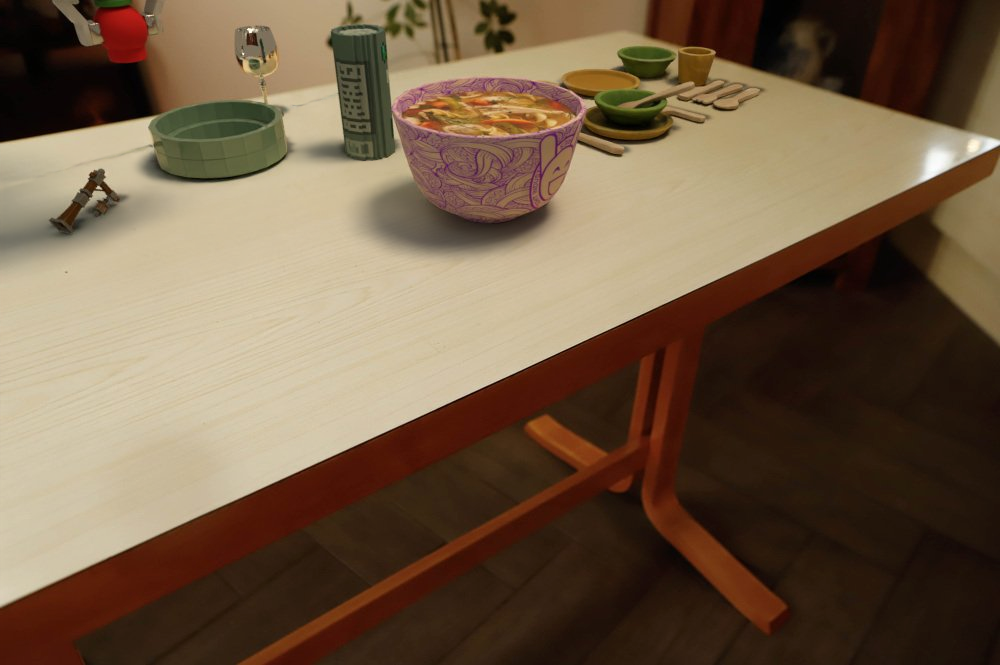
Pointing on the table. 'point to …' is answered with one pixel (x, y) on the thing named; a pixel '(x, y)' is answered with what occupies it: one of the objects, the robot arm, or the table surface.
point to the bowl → (218, 138)
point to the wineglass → (256, 53)
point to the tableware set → (646, 94)
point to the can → (364, 90)
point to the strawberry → (122, 30)
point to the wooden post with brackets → (85, 201)
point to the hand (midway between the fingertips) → (123, 38)
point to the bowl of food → (489, 143)
